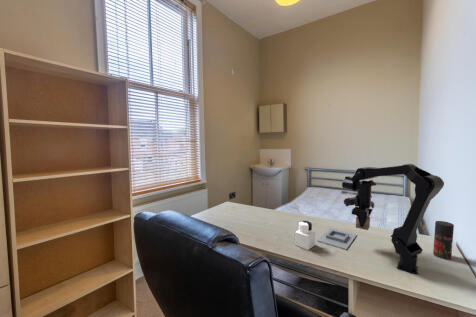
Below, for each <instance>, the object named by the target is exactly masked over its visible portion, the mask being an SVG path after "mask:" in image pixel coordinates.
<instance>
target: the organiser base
mask: <svg viewBox="0 0 476 317" xmlns="http://www.w3.org/2000/svg"><path fill="white" fill-rule="evenodd" d="M357 235H358V234H356V233H352V232H349V231H343V230H340V229H337V228H332V227H329V229H327V231H326V232H324V234H322V235H321V236H320V237H319V238H318V239H317V240H316V241H317V243H318V242H319V243H321V244H322V243H323V244H325V245H328V246H331V247H335V248H339V249H342V250H348V248H349V247H350V246H351V244H352V243H353V242H354V240H355V239H356V238H357Z"/></svg>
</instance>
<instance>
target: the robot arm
mask: <svg viewBox="0 0 476 317" xmlns="http://www.w3.org/2000/svg"><path fill="white" fill-rule="evenodd" d="M398 175H404V176H405V177H406V178H407V180H408V181H410V183H412V184H413V185H415V186H414V195H415V196H414V199H413V201H412V204H411V206H410V208H409V210H408V213H407V214H406V217H405V220H404V221H403V224H402V225H401V226H399V227H396V228H394V229H393V232H392V234H391V235H390V237H391V240H390V241H391V243H392V244H393V248H394V251H395V254H397V255H399V256H398V261H397V266H396V268H397V269H399V270H402V271H404V272H407V273H410V274H414V275H419V265H418V255H420V254H422V252H423V251H424V249H423V247H421V246H420V244H419V243H418V242H417V239H418V233H417V231H418V228H419V225H420V224H421V223H422V221H423V220H422V219H423V217H424V215H425V213H426V211H427V209H428V207H429V205H430V202H431V201H432V199H434V198H435V197H436V196H437V195H438V194H439V193H440V192H441V191H442V189H443V188H444V185H445V181H444V180H443V179H442V178H441V177H440V176H438V175H435V174H431V173H430V172H429V171H426V170H424V169H422V168H419V167H418V166H417V165H415V164H413V163H406V164H403V165H393V166H387V167H386V166H385V167H376V166H375V167H374V166H372V167H371V166H365V167H364V166H363V167H359V168H357V169H356V171H355V173H354V174H353V175H352V176H348V175H347V176H345V177H344V179H343V180H342V183H341V186H342V188H343V189H344V190H347V191H352V192H357V193H356V195H355V196H352V197H347V198H344V199H343V204H344V205H345V207H350V206H354V207H352V209H351V215H352V216H356V217H358V220H359V224H360V227H363V226H364V224H365V222H366V220H367V218H368V217H370V216H371V214H372V212H373V211H374V210H373V209H374V208H375V202H374V201H372V198H373V195H372V187H374V186H377V185H378V184H377V183H376V182H374V180H373V179H375V178H378V177H386V176H398Z"/></svg>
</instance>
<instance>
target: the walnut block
mask: <svg viewBox="0 0 476 317" xmlns="http://www.w3.org/2000/svg"><path fill="white" fill-rule="evenodd" d="M370 223H371V217H370V216H369V217H368V218H367V220H366V222H365V224H364V226H363V227H360V224H359V220H358V217H357V216H356V217H355V228H356V229H360V230H364V231H369V228H370V226H371V224H370Z"/></svg>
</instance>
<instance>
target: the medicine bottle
mask: <svg viewBox="0 0 476 317" xmlns="http://www.w3.org/2000/svg"><path fill="white" fill-rule="evenodd" d="M312 229H313V224H312V222H311V221H309V220H300V221H299V222H298V230H296V231H295V232H294V233H295V234H294V236H295V238H294V242H295V243H294V244H295V246H297V247H299V248H301V249H304V250H307V251H309V250H310V249H311V248H313V247H314V246H316V231H314V230H312Z"/></svg>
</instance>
